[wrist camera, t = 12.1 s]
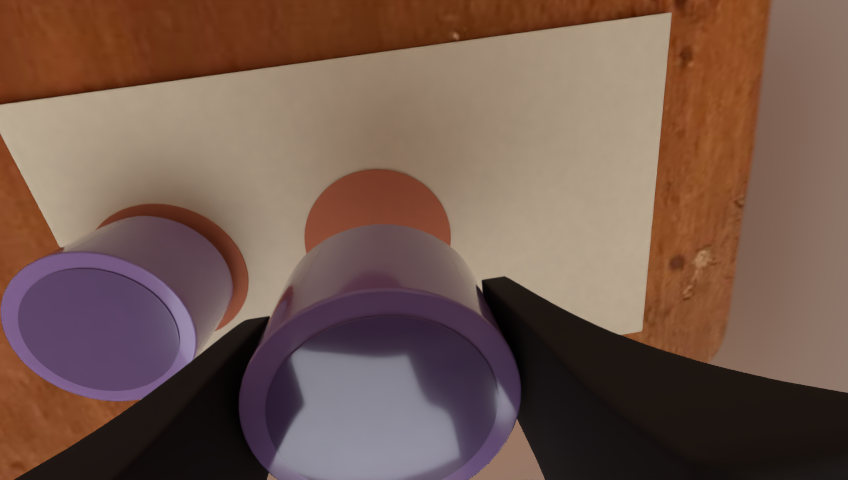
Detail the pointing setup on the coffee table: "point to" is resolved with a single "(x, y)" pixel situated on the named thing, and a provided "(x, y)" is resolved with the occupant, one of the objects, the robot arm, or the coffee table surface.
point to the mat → (384, 160)
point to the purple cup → (380, 365)
